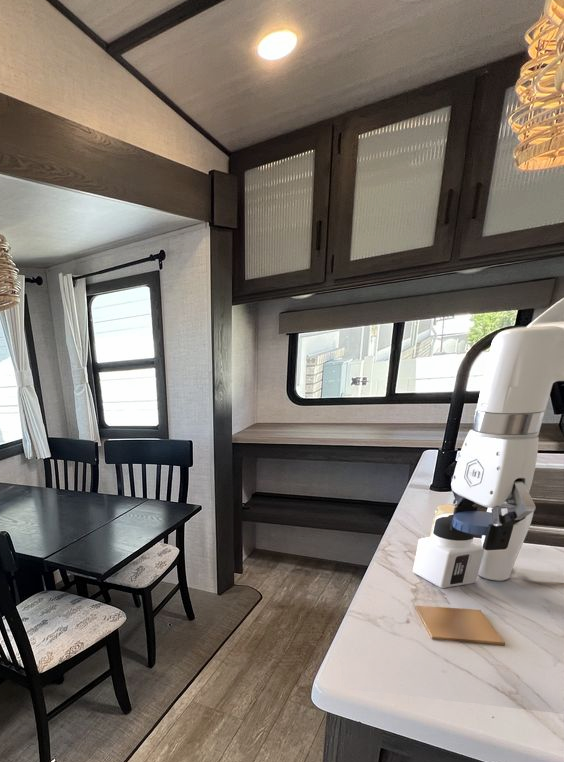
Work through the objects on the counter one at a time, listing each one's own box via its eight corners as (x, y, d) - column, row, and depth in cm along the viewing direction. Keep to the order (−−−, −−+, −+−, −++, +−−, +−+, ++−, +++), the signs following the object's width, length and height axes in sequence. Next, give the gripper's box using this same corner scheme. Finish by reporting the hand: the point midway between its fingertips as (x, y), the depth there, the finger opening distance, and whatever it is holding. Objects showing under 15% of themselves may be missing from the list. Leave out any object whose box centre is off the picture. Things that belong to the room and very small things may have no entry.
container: (476, 583, 91) (493, 520, 86) (441, 589, 90) (455, 526, 85) (444, 566, 98) (457, 508, 93) (411, 572, 97) (422, 513, 92)
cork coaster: (480, 612, 82) (480, 609, 82) (504, 645, 73) (505, 642, 73) (415, 607, 85) (415, 605, 85) (431, 639, 76) (432, 636, 76)
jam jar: (457, 541, 108) (466, 503, 104) (469, 553, 102) (478, 514, 99) (424, 540, 110) (431, 503, 106) (433, 552, 104) (441, 513, 101)
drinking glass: (476, 565, 97) (493, 496, 91) (517, 574, 93) (538, 502, 86) (467, 577, 93) (484, 506, 87) (509, 587, 89) (531, 512, 82)
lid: (452, 532, 71) (454, 524, 71) (451, 517, 77) (452, 509, 76) (512, 538, 68) (514, 529, 67) (506, 521, 73) (509, 513, 72)
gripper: (441, 416, 74) (420, 521, 81) (525, 436, 58) (490, 564, 65) (490, 413, 74) (465, 518, 81) (589, 432, 58) (547, 561, 65)
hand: (476, 538), depth 73 cm, fingers closed on lid, 7 cm apart
